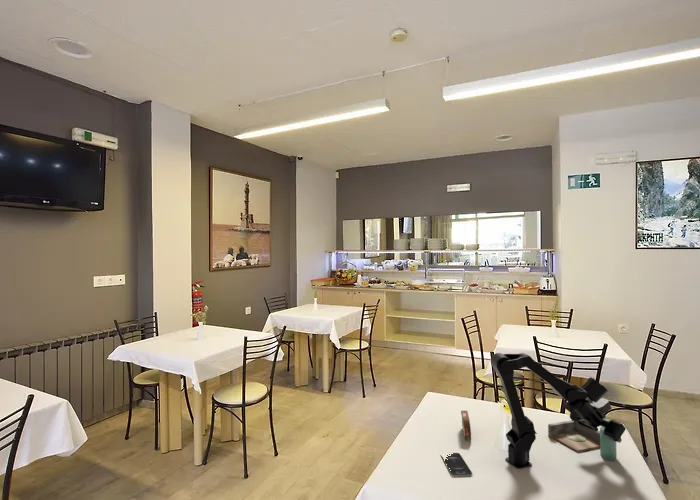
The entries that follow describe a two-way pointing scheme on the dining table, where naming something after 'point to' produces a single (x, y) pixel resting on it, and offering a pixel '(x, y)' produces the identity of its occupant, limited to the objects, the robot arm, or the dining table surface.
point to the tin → (466, 425)
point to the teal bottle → (607, 446)
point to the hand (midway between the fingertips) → (608, 435)
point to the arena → (574, 436)
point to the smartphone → (457, 465)
